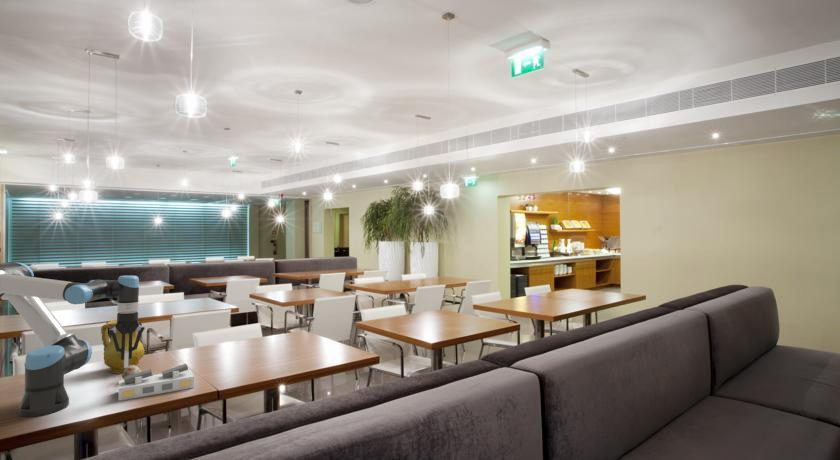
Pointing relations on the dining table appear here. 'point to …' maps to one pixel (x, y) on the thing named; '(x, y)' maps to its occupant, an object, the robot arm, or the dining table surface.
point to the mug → (130, 370)
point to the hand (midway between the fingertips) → (126, 366)
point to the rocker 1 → (132, 377)
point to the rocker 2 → (170, 371)
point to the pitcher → (110, 353)
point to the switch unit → (155, 385)
